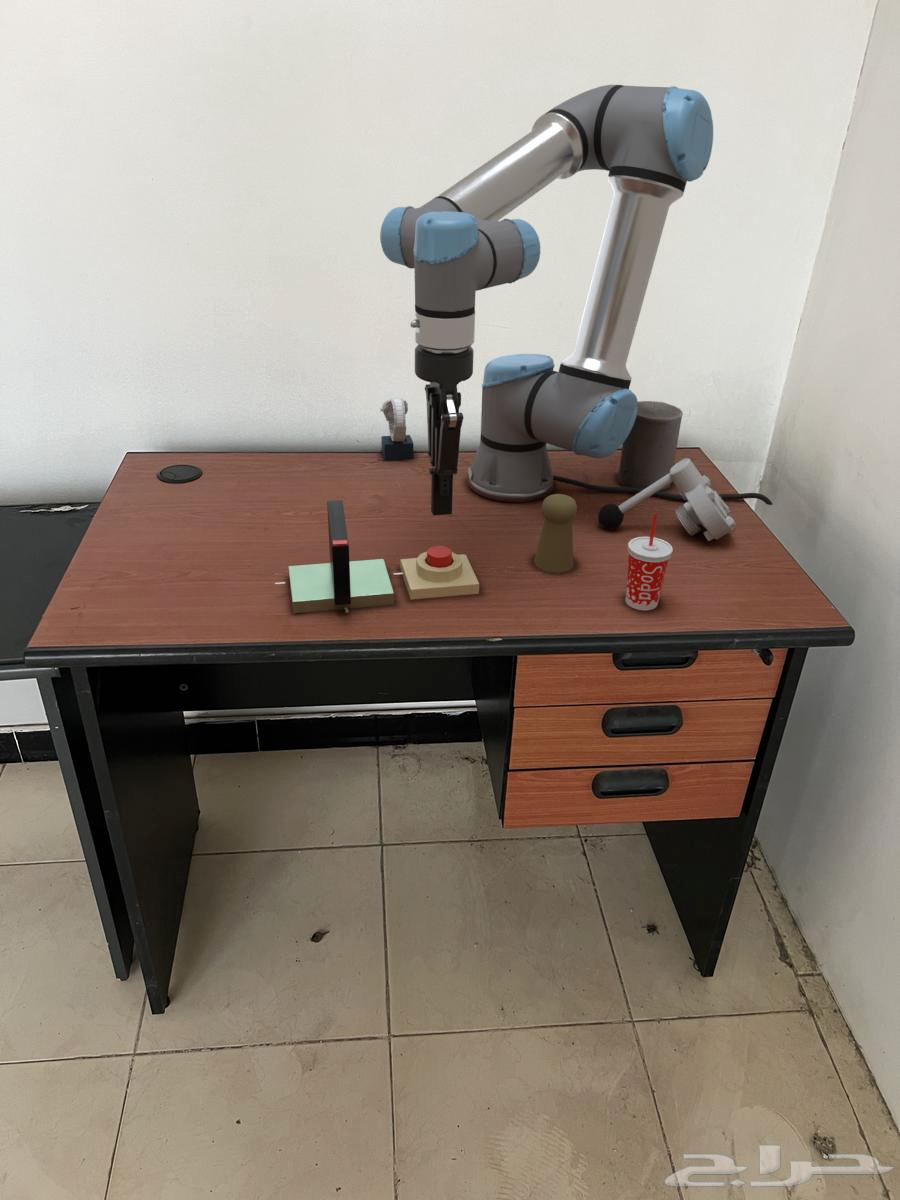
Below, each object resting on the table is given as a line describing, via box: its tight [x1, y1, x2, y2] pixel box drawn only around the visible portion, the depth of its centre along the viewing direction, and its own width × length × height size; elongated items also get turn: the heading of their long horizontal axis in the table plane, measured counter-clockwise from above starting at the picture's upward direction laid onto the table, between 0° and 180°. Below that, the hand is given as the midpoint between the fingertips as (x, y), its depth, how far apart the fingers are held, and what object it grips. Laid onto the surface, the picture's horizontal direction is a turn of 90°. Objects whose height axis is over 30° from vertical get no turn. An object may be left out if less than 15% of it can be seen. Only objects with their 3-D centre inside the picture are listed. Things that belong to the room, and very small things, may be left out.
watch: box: [379, 396, 414, 461], centre depth 169 cm, size 6×8×11 cm
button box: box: [399, 551, 480, 600], centre depth 131 cm, size 10×9×4 cm
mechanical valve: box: [597, 457, 737, 542], centre depth 146 cm, size 10×18×15 cm
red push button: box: [426, 545, 453, 568], centre depth 129 cm, size 4×4×2 cm
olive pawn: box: [533, 493, 578, 574], centre depth 134 cm, size 6×6×11 cm
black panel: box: [326, 499, 351, 605], centre depth 125 cm, size 14×2×9 cm, turn 9°
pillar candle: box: [617, 400, 684, 492], centre depth 161 cm, size 10×10×15 cm
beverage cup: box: [624, 512, 674, 611], centre depth 124 cm, size 6×6×14 cm
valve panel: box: [274, 558, 403, 615], centre depth 128 cm, size 18×18×2 cm
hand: (441, 512), depth 126 cm, fingers closed
